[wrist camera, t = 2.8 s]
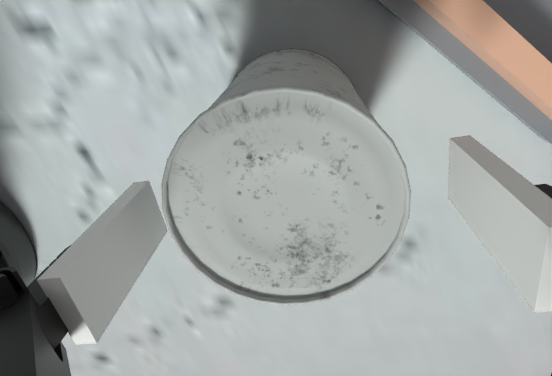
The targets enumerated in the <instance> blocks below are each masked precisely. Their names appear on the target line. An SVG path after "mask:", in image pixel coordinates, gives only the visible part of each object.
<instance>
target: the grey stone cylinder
mask: <svg viewBox="0 0 552 376" xmlns="http://www.w3.org/2000/svg"><path fill="white" fill-rule="evenodd" d="M410 196H411V190H410V185H409V180H408V175H407V170H406V166H405V164H404V162H403V160H402V158H401V156H400V154H399V152H398V150H397V148H396V146H395V144H394V142H393V140H392V139H391V138H390V137H389V135H388V134H387V133H386V132H385V131H384V130H383V129H382V128H381V126H380V125H379V124H378V123H377V122H376V120H375V119H374V117H373V116H372V114H371V113H370V112H369V110H368V109H367V107H366V106H365V104H364V103H363V101H362V100H361V98H360V97H359V95H358V94H357V93H356V91H355V89H354V87H353V85H352V83H351V81H350V80H349V78H348V77H347V76H346V75H345V74H344V73H343V71H342V70H341V69H340V68H339V67H338V66H337V65H335V64H334V63H332V62H331V61H330V60H328V59H327V58H325V57H323V56H320V55H318V54H315V53H313V52H310V51H305V50H297V49H287V50H278V51H273V52H271V53H268V54H265V55H262V56H260V57H258V58H257V59H255V60H254V61H252V62H251V63H249V64H248V65H246V66H245V67H244V68H243V69H242V70H241V71H240V73H239V74H238V75H237V76H236V77H235V78H234V80H233V81H232V83H231V85H230V86H229V87H228V88H227V89H226V90H225V91H224V92H223V93H222V94H221V95H220V97H219V98H218V99H217V100H216V101H215V102H214V103H213V104H212V105H211V106H210V108H209V109H208V110H206V111H204V112H203V113H201V114H200V115H199V116H198V117H197V118H196V119H195V120H194V121H193V122H192V123H191V124H190V126H189V127H188V128H187V129H186V130H185V131H184V132H183V133H182V134H181V135H180V136H179V138H178V140H177V142H176V144H175V146H174V148H173V150H172V151H171V153H170V155H169V157H168V159H167V163H166V167H165V171H164V176H163V180H162V209H163V213H164V216H165V220H166V223H167V226H168V230H169V233H170V234H171V236H172V238H173V240H174V242H175V243H176V245H177V247H178V249H179V251H180V252H181V253H182V255H183V256H184V257H185V258H186V259H187V260H188V261H189V263H190V264H191V265H192V266H193V267H194V268H195V269H196V270H197V271H198V272H199V273H201V274H202V275H203V276H205V277H206V278H207V279H209V280H210V281H211V282H212V283H214V284H215V285H217V286H219V287H221V288H223V289H225V290H227V291H229V292H231V293H233V294H235V295H237V296H241V297H244V298H247V299H250V300H254V301H257V302H263V303H270V304H278V305H297V304H309V303H314V302H319V301H323V300H328V299H331V298H334V297H336V296H339V295H341V294H343V293H346V292H348V291H351V290H353V289H354V288H356V287H357V286H359V285H360V284H362V283H363V282H365V281H366V280H368V279H370V278H371V277H372V276H373V275H374V274H375V273H376V272H377V271H378V270H379V269H380V268H381V267H382V266H383V265H384V264H385V263H386V262H387V261H388V260H389V259H390V257H391V256H392V254H393V252H394V251H395V249H396V248H397V246H398V245H399V243H400V241H401V239H402V236H403V233H404V231H405V228H406V225H407V222H408V219H409V212H410Z"/></svg>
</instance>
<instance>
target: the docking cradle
mask: <svg viewBox="0 0 552 376" xmlns="http://www.w3.org/2000/svg"><path fill="white" fill-rule="evenodd" d="M378 1H379V2H380V3H381V4H382V5H384V6H385V7H386V8H387V9H388V10H390V11H391V12H392V13H393V14H394V15H396V16H397V17H398V18H399V19H400V20H401V21H403V22H404V23H405V24H406V25H407V26H409V27H410V28H411V29H412V30H413V31H415V32H416V33H417V34H418V35H419V36H421V37H422V38H423V39H424V40H425V41H426V42H428V43H429V44H430V45H431V46H432V47H434V48H435V49H436V50H437V51H438V52H440V53H441V54H442V55H443V56H444V57H445V58H447V59H448V60H449V61H450V62H451V63H453V64H454V65H455V66H456V67H457V68H459V69H460V70H461V71H462V72H463V73H465V74H466V75H467V76H468V77H469V78H470V79H472V80H473V81H474V82H475V83H476V84H478V85H479V86H480V87H481V88H482V89H484V90H485V91H486V92H487V93H488V94H489V95H491V96H492V97H493V98H494V99H495V100H497V101H498V102H499V103H500V104H501V105H503V106H504V107H505V108H506V109H507V110H508V111H510V112H511V113H512V114H513V115H514V116H516V117H517V118H518V119H519V120H520V121H522V122H523V123H524V124H525V125H526V126H528V127H529V128H530V129H531V130H532V131H533V132H535V133H536V134H537V135H538V136H539V137H541V138H542V139H544V140H545V141H547V142H549V143H551V144H552V0H378Z"/></svg>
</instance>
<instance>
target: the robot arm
mask: <svg viewBox="0 0 552 376" xmlns="http://www.w3.org/2000/svg"><path fill="white" fill-rule="evenodd" d="M448 199H449V200H450V201H451V203H452V204H453V205H454V207H455V208H456V209H457V211H458V212H459V213H460V215H461V216H462V217H463V219H464V220H465V221H466V223H467V224H468V225H469V227H470V228H471V229H472V231H473V232H474V233H475V235H476V236H477V237H478V239H479V240H480V241H481V242H482V244H483V245H484V246H485V248H486V249H487V250H488V252H489V253H490V254H491V256H492V257H493V258H494V260H495V261H496V262H497V264H498V265H499V266H500V268H501V269H502V270H503V272H504V273H505V274H506V276H507V277H508V278H509V280H510V281H511V282H512V284H513V285H514V286H515V288H516V289H517V290H518V292H519V293H520V294H521V296H522V297H523V298H524V300H525V301H526V302H527V304H528V305H529V306H530V308H531V309H532V310H533V312H534V313H535V312H549V311H552V186H549V185H547V184H540V185H533V184H532V183H531V182H529V181H528V180H527V179H526V178H524V177H523V176H522V175H520V174H519V173H518V172H517V171H515V170H514V169H513V168H511V167H510V166H509V165H507V164H506V163H505V162H504V161H502V160H501V159H500V158H498V157H497V156H496V155H495V154H493V153H492V152H491V151H489V150H488V149H487V148H485V147H484V146H483V145H482V144H480V143H479V142H478V141H476V140H475V139H474V138H472V137H471V136H470V135H469V136H462V137H455V138H450V144H449V177H448ZM166 232H167V228H166V225H165V223H164V220H163V217H162V215H161V212H160V209H159V207H158V204H157V201H156V198H155V196H154V193H153V190H152V188H151V185H150V182H149V181H143V182H136V183H133V184H132V185H131V186H130V187H129V188H128V189H127V190H126V191H125V192H124V193H123V194H122V195H121V196H120V197H119V198H118V199H117V200H116V201H115V202H114V203H113V204H112V205H111V206H110V207H109V208H108V209H107V210H106V211H105V212H104V213H103V214H102V215H101V216H100V217H99V218H98V219H97V220H96V221H95V222H94V223H93V224H92V225H91V226H90V227H89V228H88V229H87V230H86V231H85V232H84V233H83V234H82V235H81V236H80V237H79V238H78V239H77V240H76V241H75V242H74V243H73V244H72V245H70V246H69V247H67V248H66V249H65V250H64V251H63V252H62V253H61V254H60V255H59V256H58V257H57V259H55V260H54V261H53V262H52V263H51V264H50V265H49V267H47V268H46V269H45V270H44V271H43V272H42V273H41V274H40V275H39V276H38V277H37V278H36V279H35V280H34V278H35V273H36V260H35V254H34V250H33V247H32V245H31V242H30V240H29V238H28V236H27V234H26V232H25V231H24V229H23V228H22V226H21V225H20V223H19V222H18V221H17V219H16V218H15V217H14V216H13V215H12V213H11V212H10V211H9V210H8V209H7V208H6V207H5V206H4V205H3V204H2V203H1V202H0V376H71V373H70V368H69V363H68V358H67V353H66V349H65V347H64V346H63V344H62V342H61V340H62V339H63V338H64V336H65V335H66V334H67V332H69V334H70V336H71V337H72V339H73V341H74V342H75V344H76V345H78V344H93V343H97V342H98V341H99V339H100V337H101V336H102V334H103V333H104V331H105V330H106V328H107V326H108V325H109V323H110V322H111V320H112V318H113V317H114V315H115V314H116V312H117V310H118V309H119V307H120V306H121V304H122V302H123V301H124V299H125V298H126V296H127V294H128V293H129V291H130V290H131V288H132V286H133V285H134V283H135V282H136V280H137V279H138V277H139V275H140V274H141V272H142V271H143V269H144V267H145V266H146V264H147V263H148V261H149V259H150V258H151V256H152V255H153V253H154V251H155V250H156V248H157V247H158V245H159V243H160V242H161V240H162V239H163V237H164V235H165V234H166ZM551 376H552V374H551Z"/></svg>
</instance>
